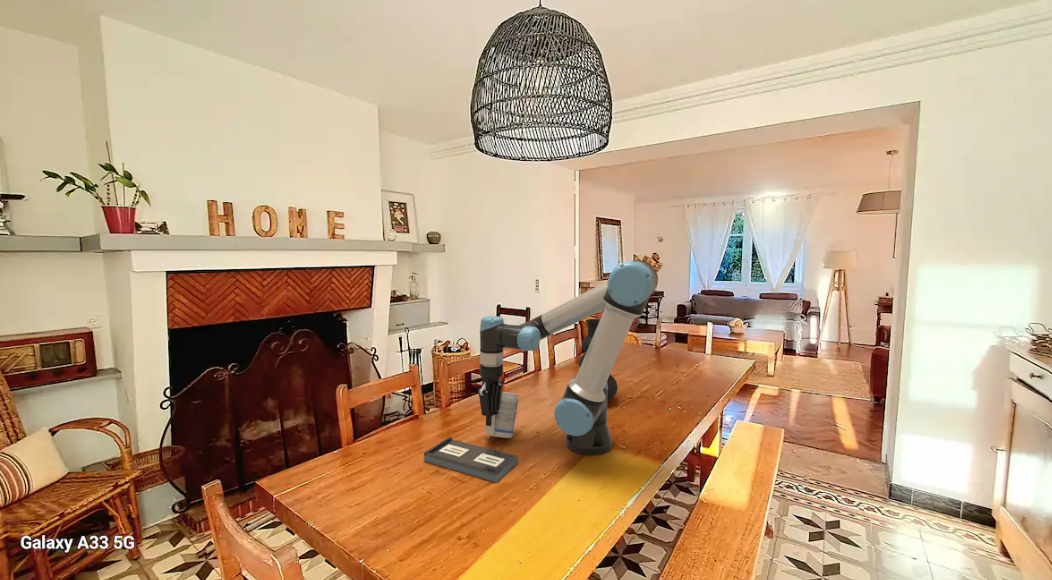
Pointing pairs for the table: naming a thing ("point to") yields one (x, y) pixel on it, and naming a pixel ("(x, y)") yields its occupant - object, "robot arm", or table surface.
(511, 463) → the label board
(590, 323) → the vase
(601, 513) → the table surface
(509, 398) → the supplement tub
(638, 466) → the table surface
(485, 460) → the label
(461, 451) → the label
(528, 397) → the table surface
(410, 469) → the table surface
